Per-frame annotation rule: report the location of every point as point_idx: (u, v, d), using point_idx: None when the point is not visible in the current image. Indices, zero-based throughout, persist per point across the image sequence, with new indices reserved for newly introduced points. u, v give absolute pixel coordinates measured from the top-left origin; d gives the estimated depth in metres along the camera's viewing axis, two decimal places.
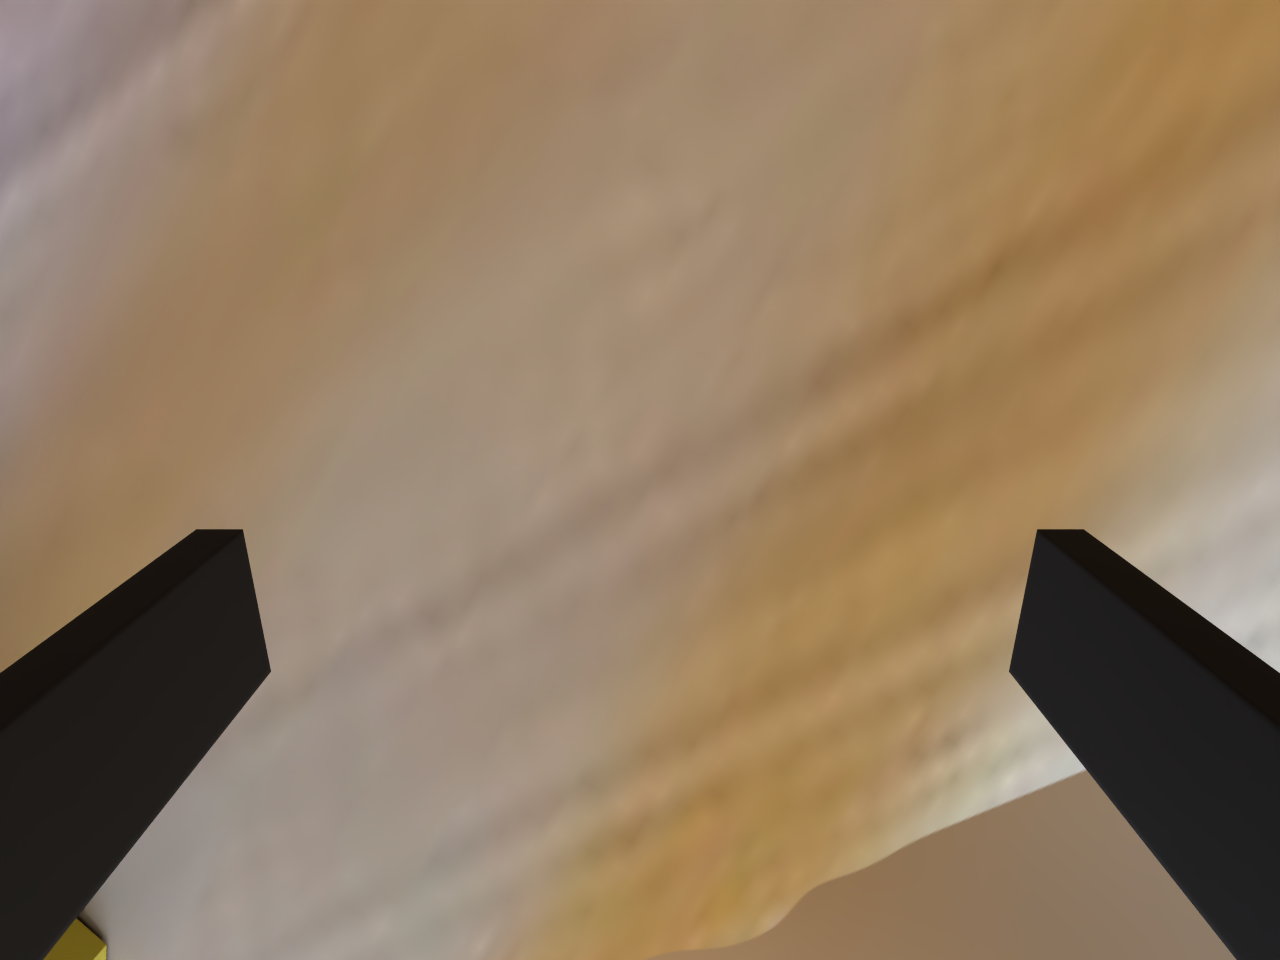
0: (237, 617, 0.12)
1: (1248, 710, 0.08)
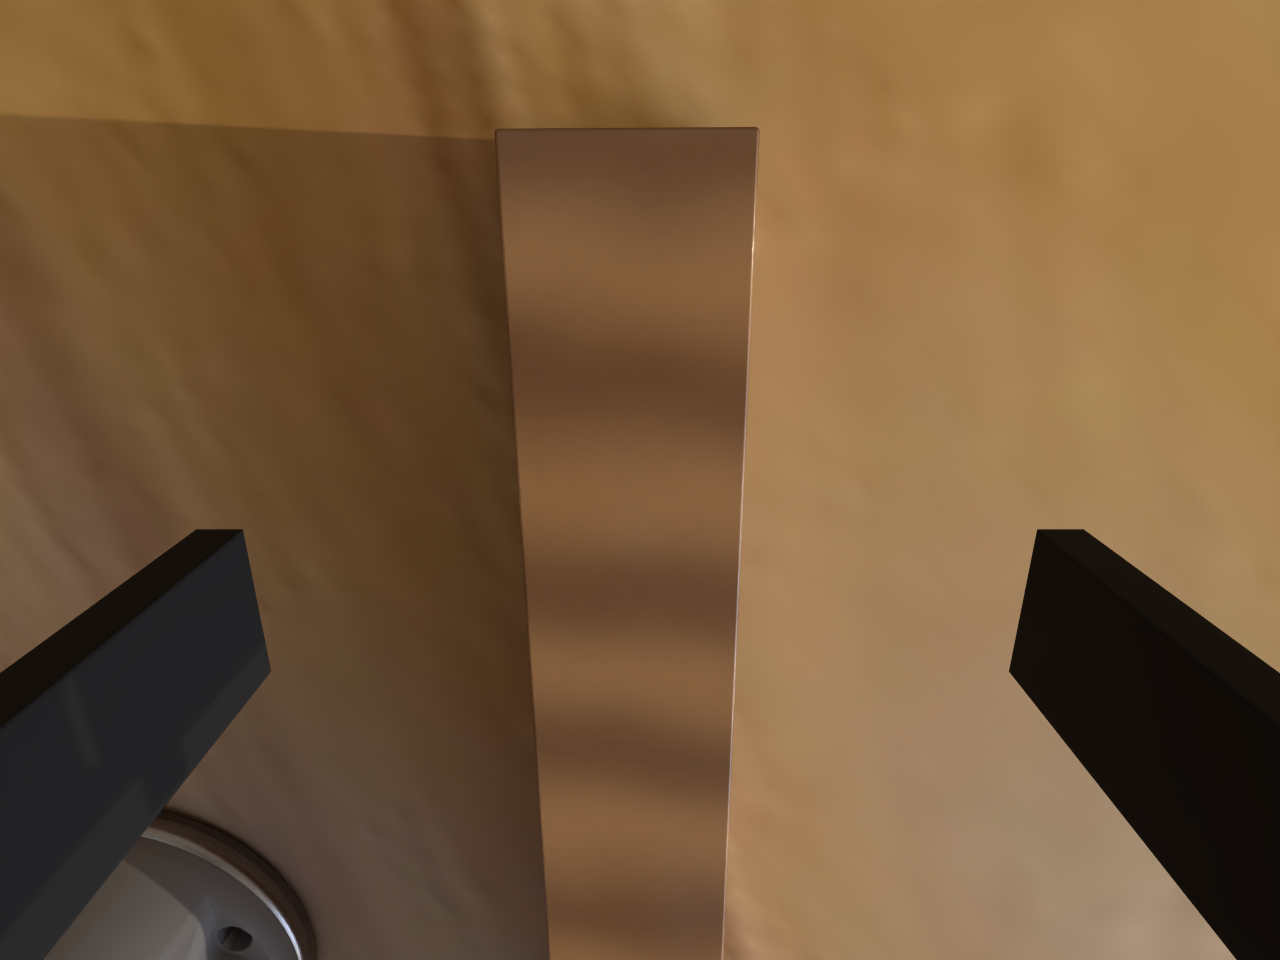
0: (237, 617, 0.12)
1: (1248, 710, 0.08)
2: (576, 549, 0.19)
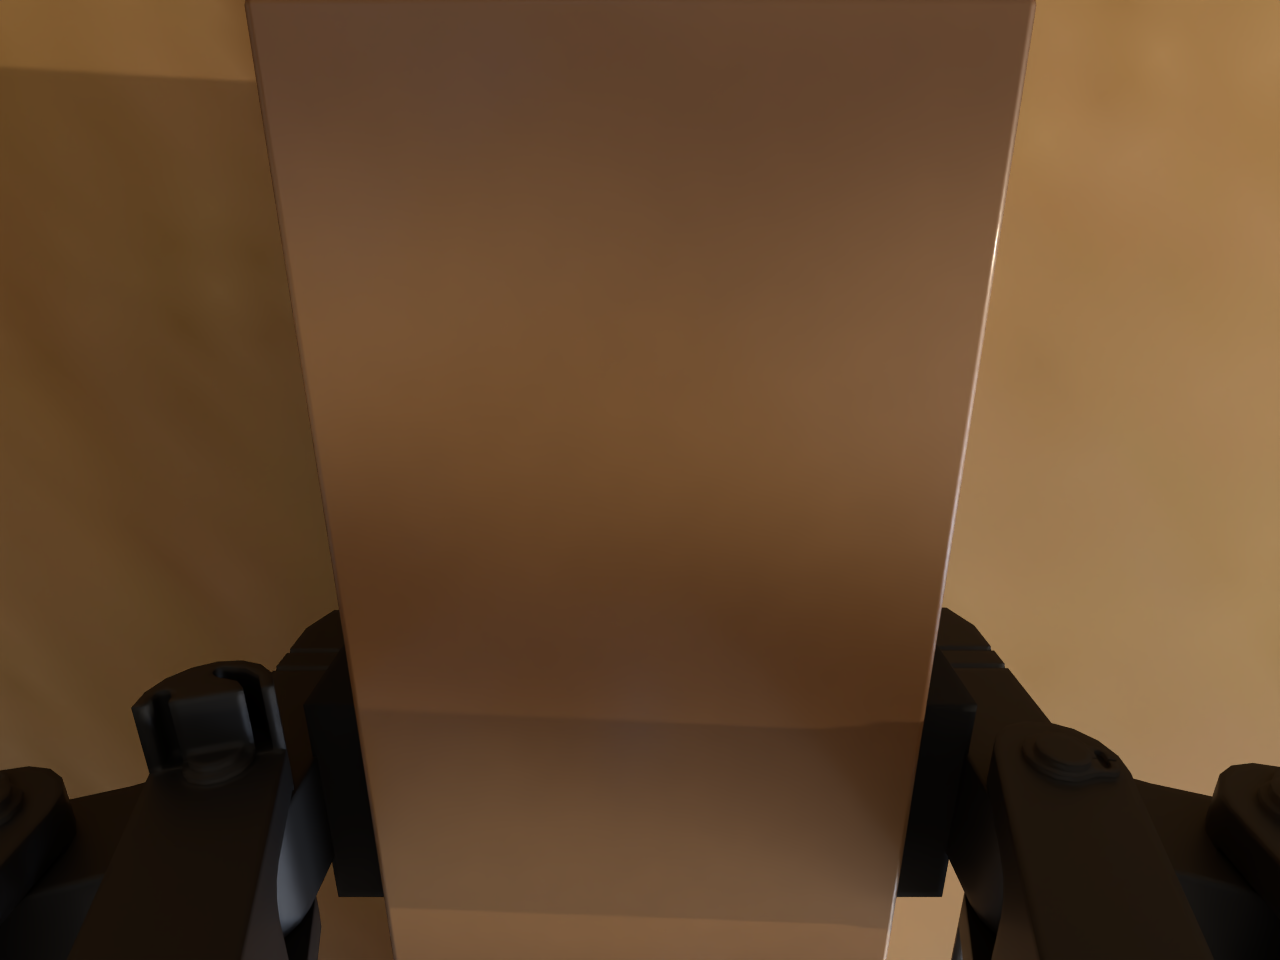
0: None
1: None
2: None
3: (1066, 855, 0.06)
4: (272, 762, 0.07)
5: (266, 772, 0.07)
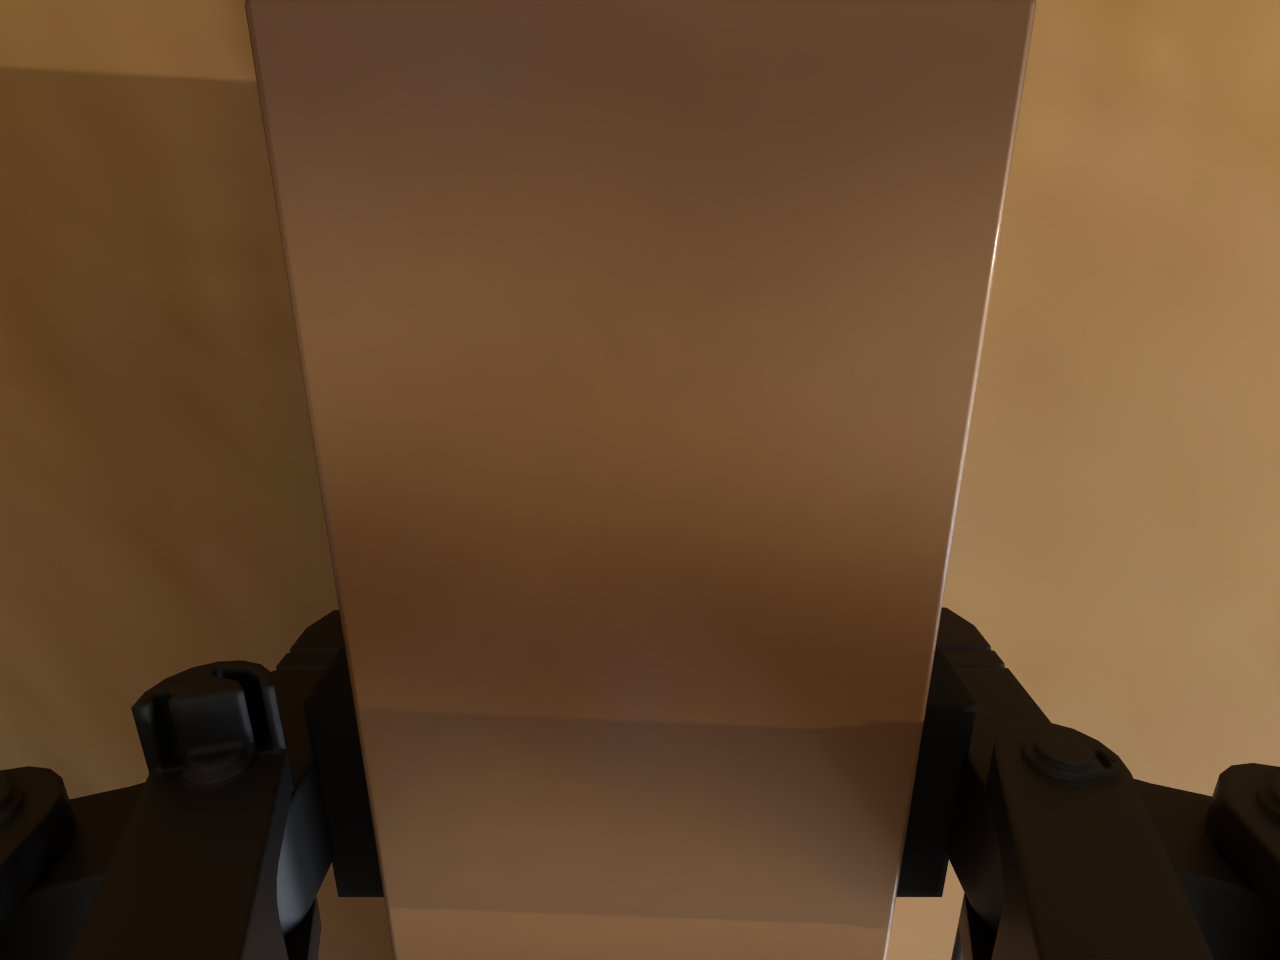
0: None
1: None
2: None
3: (1066, 855, 0.06)
4: (272, 762, 0.07)
5: (266, 772, 0.07)
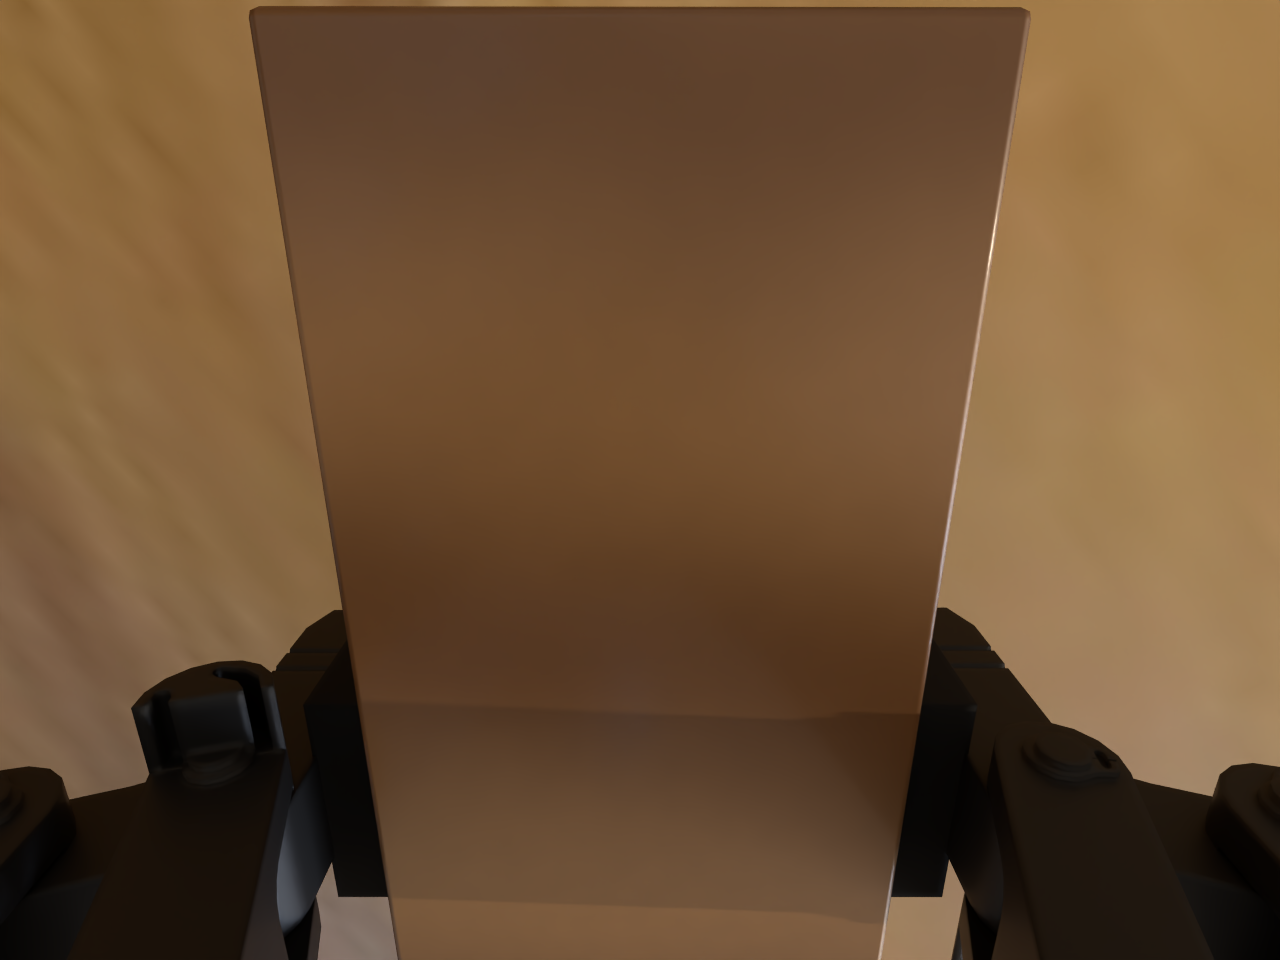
0: None
1: None
2: None
3: (1066, 855, 0.06)
4: (272, 762, 0.07)
5: (266, 772, 0.07)
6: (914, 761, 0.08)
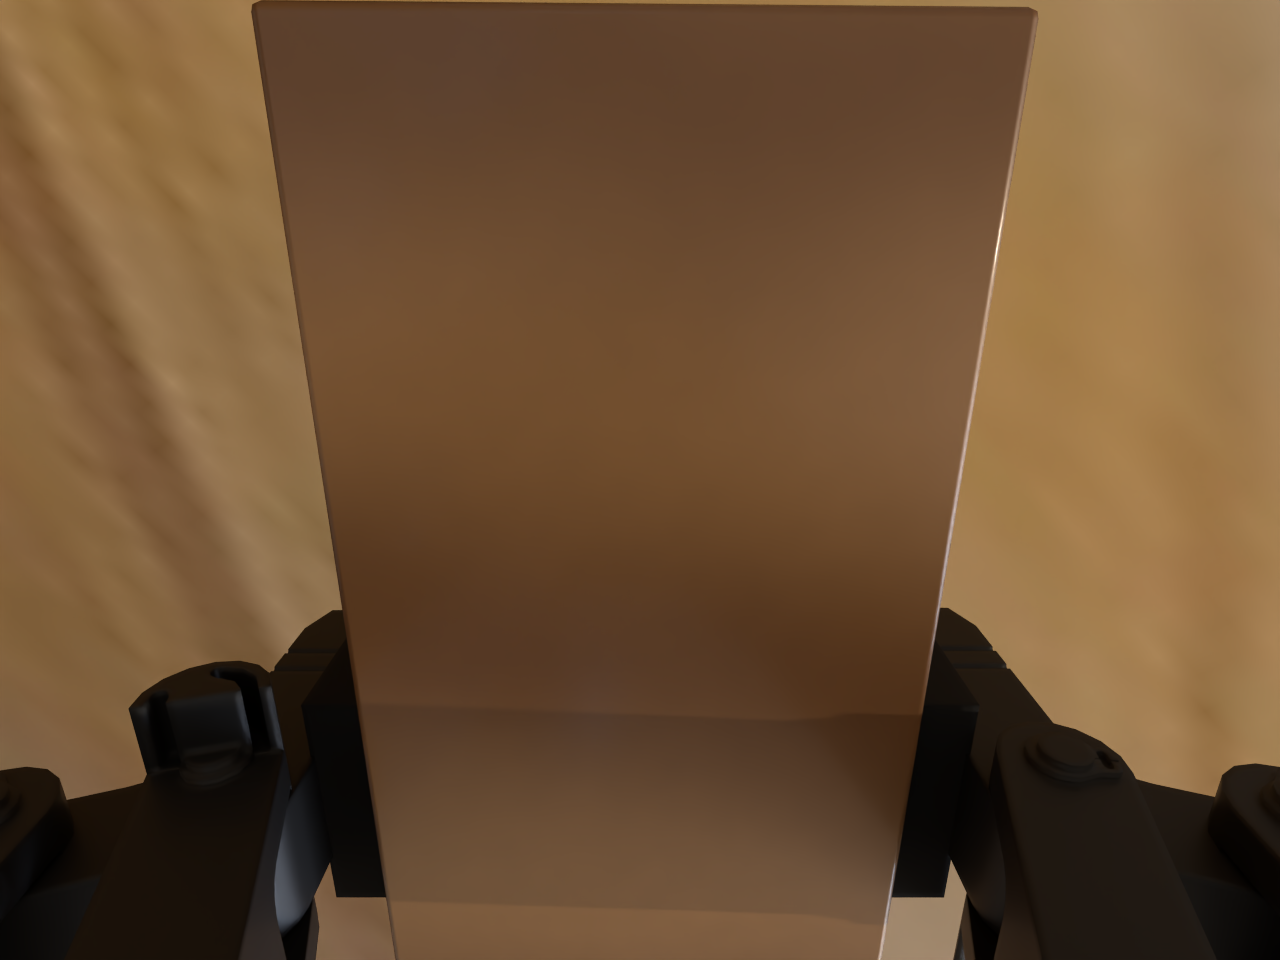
0: None
1: None
2: None
3: (1068, 855, 0.06)
4: (269, 762, 0.07)
5: (263, 772, 0.07)
6: (916, 761, 0.08)
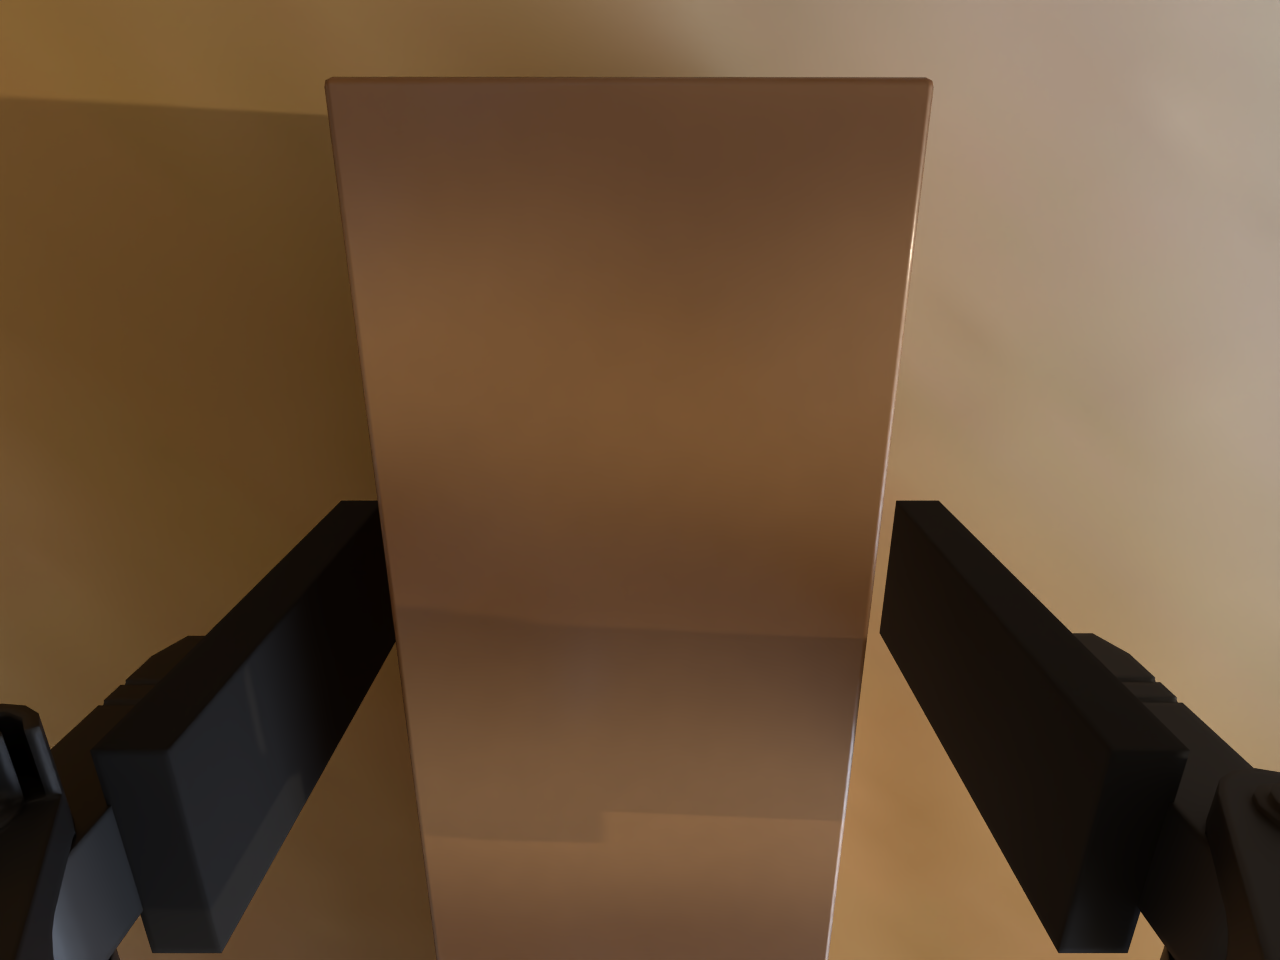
0: (380, 580, 0.13)
1: (1014, 644, 0.09)
2: (526, 886, 0.10)
3: None
4: (44, 809, 0.07)
5: (36, 820, 0.07)
6: (1113, 809, 0.08)
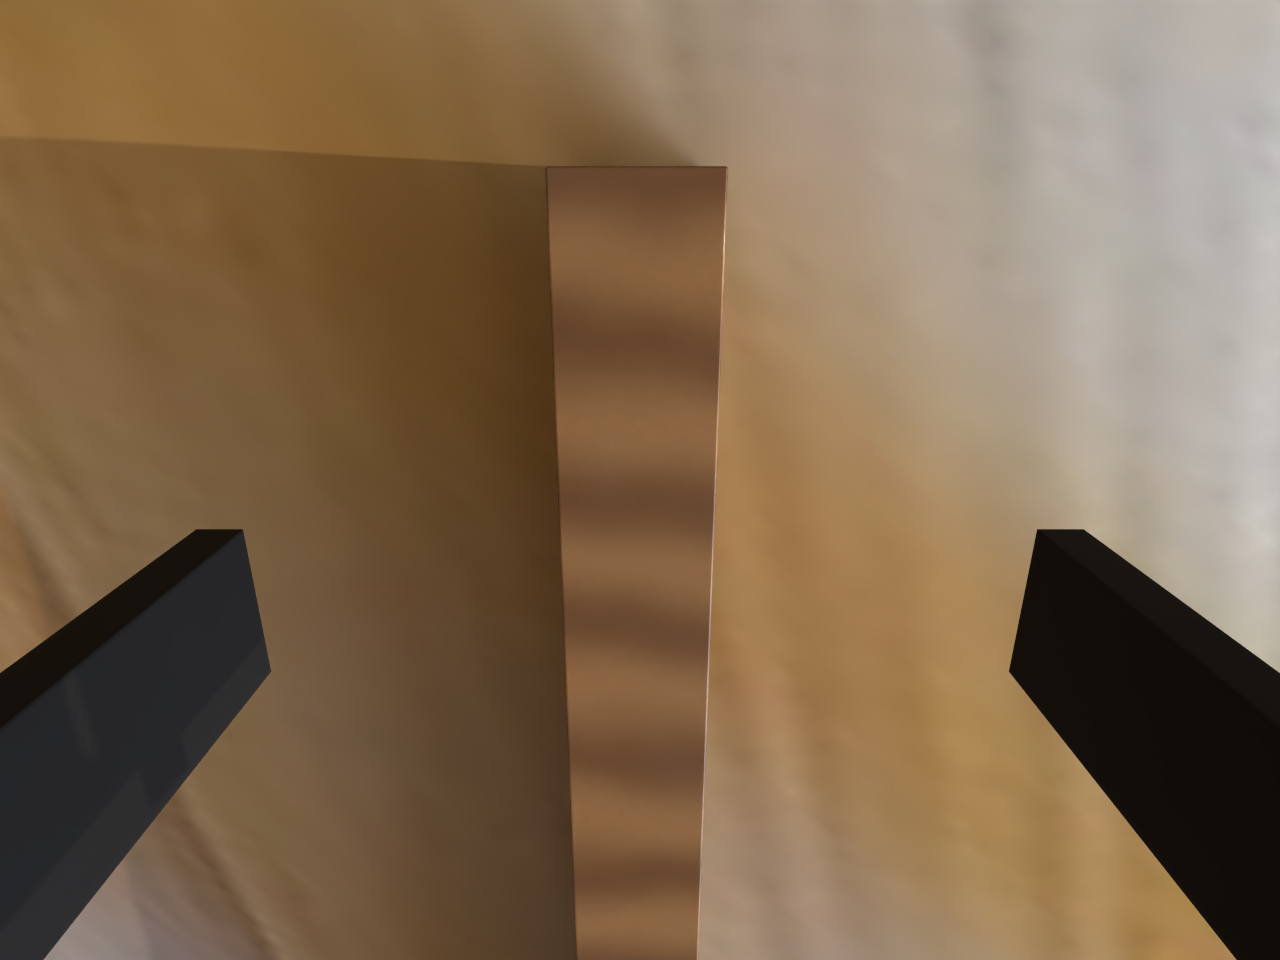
0: (237, 617, 0.12)
1: (1248, 710, 0.08)
2: (596, 468, 0.26)
3: None
4: None
5: None
6: None
